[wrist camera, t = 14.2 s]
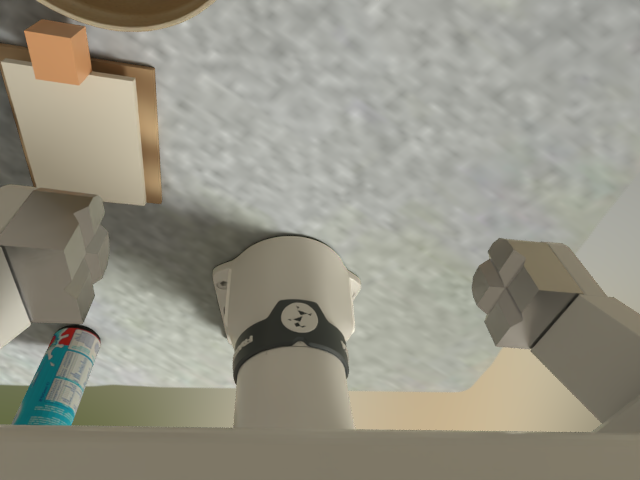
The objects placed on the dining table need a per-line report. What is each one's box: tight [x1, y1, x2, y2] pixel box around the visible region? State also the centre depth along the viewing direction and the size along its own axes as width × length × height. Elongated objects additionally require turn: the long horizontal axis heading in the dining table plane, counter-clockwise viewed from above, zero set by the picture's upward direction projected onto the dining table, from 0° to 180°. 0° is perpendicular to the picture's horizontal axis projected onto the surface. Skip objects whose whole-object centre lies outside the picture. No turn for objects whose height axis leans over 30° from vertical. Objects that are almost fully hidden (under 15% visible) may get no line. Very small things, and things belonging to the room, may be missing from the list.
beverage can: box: [11, 326, 101, 426], centre depth 53 cm, size 6×6×15 cm
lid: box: [1, 19, 146, 206], centre depth 36 cm, size 16×10×4 cm, turn 169°
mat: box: [0, 43, 162, 204], centre depth 39 cm, size 14×12×1 cm
